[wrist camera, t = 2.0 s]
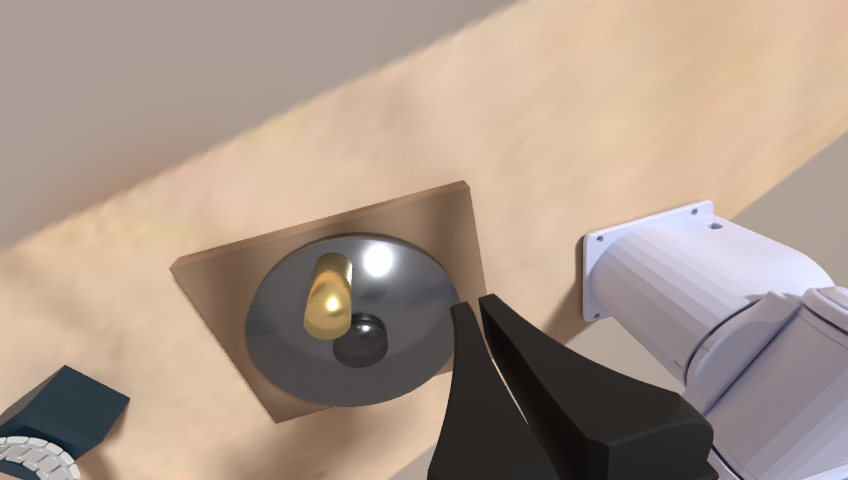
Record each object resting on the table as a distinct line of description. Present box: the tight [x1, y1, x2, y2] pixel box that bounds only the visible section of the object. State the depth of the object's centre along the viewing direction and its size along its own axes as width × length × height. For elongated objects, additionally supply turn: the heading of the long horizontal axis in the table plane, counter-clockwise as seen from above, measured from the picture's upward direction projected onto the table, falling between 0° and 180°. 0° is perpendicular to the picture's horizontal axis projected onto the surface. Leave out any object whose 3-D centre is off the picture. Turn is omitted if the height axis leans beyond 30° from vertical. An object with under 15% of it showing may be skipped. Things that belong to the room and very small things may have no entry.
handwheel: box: [246, 232, 461, 407], centre depth 20 cm, size 13×13×6 cm
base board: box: [169, 180, 493, 424], centre depth 23 cm, size 17×14×1 cm
